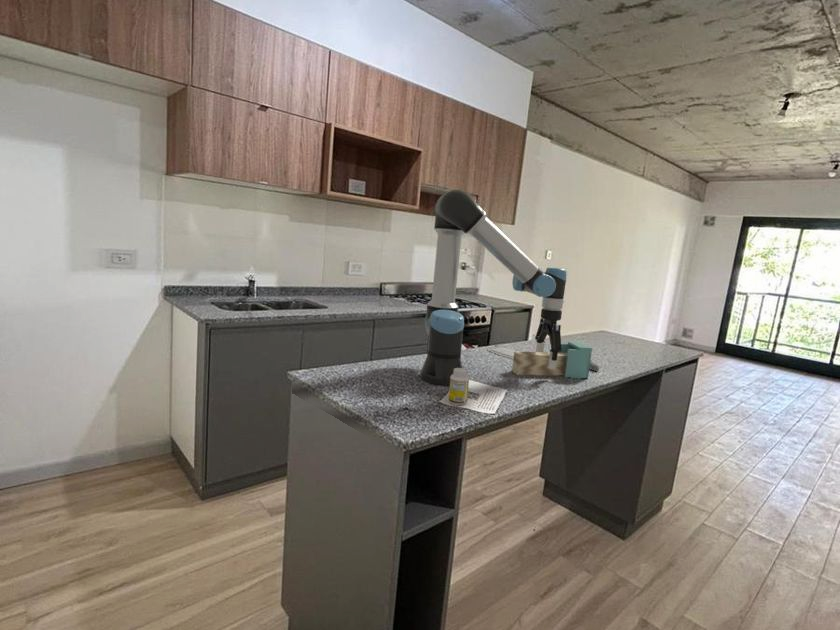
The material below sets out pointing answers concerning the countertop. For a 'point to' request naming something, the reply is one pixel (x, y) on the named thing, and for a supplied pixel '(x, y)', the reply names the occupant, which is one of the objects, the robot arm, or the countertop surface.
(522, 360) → the beige zigzag patterned block
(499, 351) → the baseboard
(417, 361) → the countertop surface
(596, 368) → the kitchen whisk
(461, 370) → the supplement bottle
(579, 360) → the end cap
